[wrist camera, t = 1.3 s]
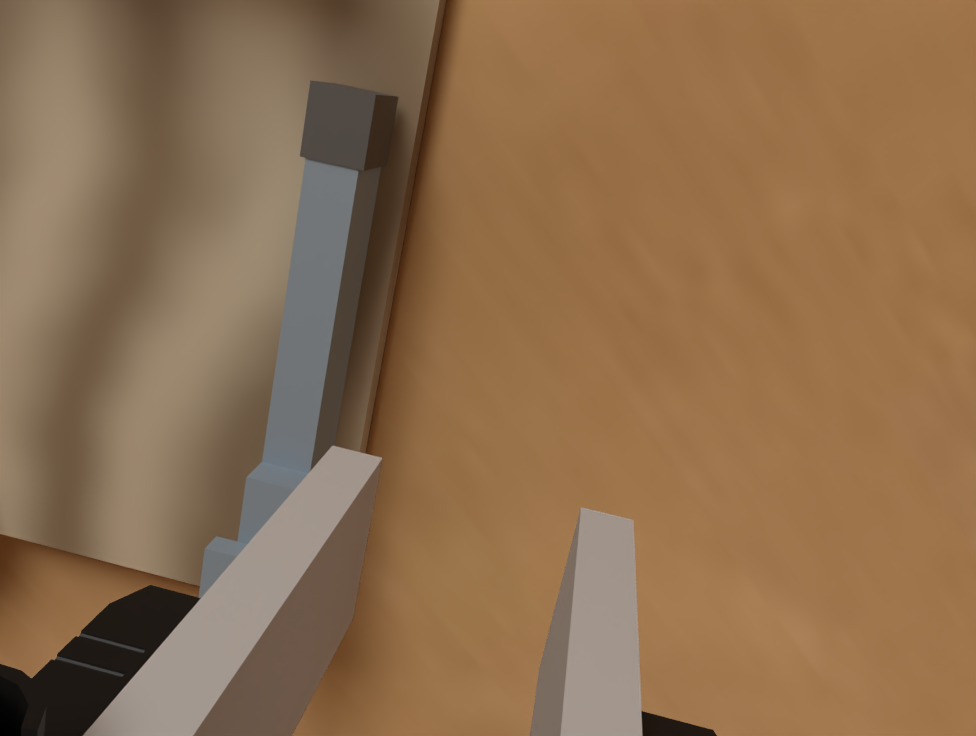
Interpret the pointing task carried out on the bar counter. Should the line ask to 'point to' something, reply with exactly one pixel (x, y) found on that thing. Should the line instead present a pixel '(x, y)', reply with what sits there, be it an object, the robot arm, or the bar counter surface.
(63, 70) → the board
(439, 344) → the bar counter surface
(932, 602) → the bar counter surface
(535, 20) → the bar counter surface
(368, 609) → the bar counter surface
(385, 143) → the leg
